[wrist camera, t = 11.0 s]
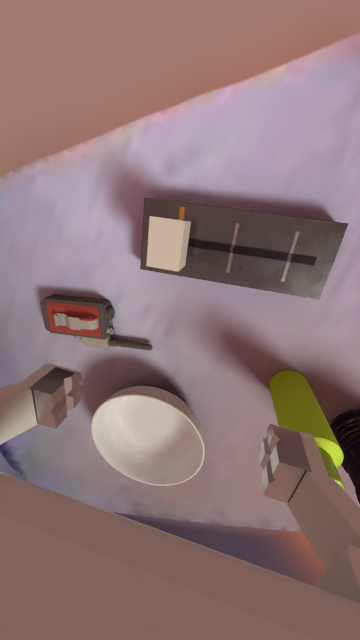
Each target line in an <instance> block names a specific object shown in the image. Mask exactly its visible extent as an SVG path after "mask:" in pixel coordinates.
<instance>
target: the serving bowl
mask: <svg viewBox="0 0 360 640" xmlns="http://www.w3.org/2000/svg"><path fill="white" fill-rule="evenodd" d="M91 433H92V437H93V441H94V443H95V445H96V447H97V449H98V451H99V452H100V454H101V455H102V456H103V458H104V459H105V460H106V461H107V462H108V463H109V464H110V465H111V466H112V467H114V468H115V469H116V470H118V471H119V472H121V473H122V474H124V475H126V476H128V477H130V478H132V479H134V480H137V481H139V482H143V483H146V484H152V485H161V486H166V485H175V484H179V483H182V482H185V481H187V480H189V479H190V478H192V477H193V476H194V475H195V474H196V473H197V472H198V471H199V469H200V468H201V466H202V464H203V461H204V456H205V444H204V436H203V432H202V428H201V425H200V423H199V421H198V419H197V417H196V415H195V414H194V412H193V411H192V410H191V409H190V407H189V406H188V405H187V404H186V403H185V402H184V401H182V400H181V399H180V398H178V397H177V396H175V395H174V394H172V393H170V392H168V391H166V390H163V389H160V388H156V387H151V386H134V387H129V388H125V389H122V390H120V391H118V392H116V393H114V394H113V395H111V396H110V397H108V398H107V399H106V400H105V401H104V402H103V403H102V404H101V405H100V406H99V407H98V408H97V410H96V411H95V413H94V415H93V418H92V422H91Z"/></svg>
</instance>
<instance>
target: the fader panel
mask: <svg viewBox="0 0 360 640" xmlns="http://www.w3.org/2000/svg"><path fill="white" fill-rule="evenodd" d="M150 216H153V217H161V218H168V219H176V220H183V221H190V222H191V226H190V233H189V241H188V248H187V256H186V263H185V266H184V267H183V268H182V269H181V270H180V271H179V272H178V271H172V270H166V269H160V268H154V267H148V266H146V263H147V248H148V233H149V218H150ZM347 226H348V224H347V223H339V222H332V221H324V220H316V219H308V218H300V217H292V216H284V215H277V214H269V213H261V212H253V211H245V210H237V209H229V208H222V207H214V206H206V205H198V204H190V203H182V202H174V201H167V200H159V199H151V198H144V215H143V232H142V250H141V267H140V269H143V270H149V271H155V272H161V273H167V274H173V275H178V276H184V277H190V278H196V279H202V280H208V281H214V282H220V283H225V284H231V285H237V286H243V287H249V288H255V289H261V290H266V291H272V292H278V293H284V294H290V295H296V296H302V297H307V298H313V299H320V296H321V294H322V291H323V288H324V286H325V283H326V281H327V278H328V275H329V273H330V270H331V268H332V265H333V262H334V260H335V257H336V255H337V252H338V249H339V247H340V244H341V241H342V239H343V236H344V234H345V231H346V228H347Z"/></svg>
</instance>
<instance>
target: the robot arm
mask: <svg viewBox="0 0 360 640" xmlns="http://www.w3.org/2000/svg"><path fill="white" fill-rule="evenodd" d="M81 380H82V377H81V373H80V372H78V371H75V370H72V369H68V368H65V367H62V366H57V365H54V364H51V363H48V364H45V365H44V366H42V367H41V368H39V369H38V370H37V371H35V372H34V373H33V374H31V375H30V376H29V377H27V378H26V379H24V380H23V381H22V382H20V383H19V384H18V385H15V384H13V385H9V386H6V387H3V388H0V444H2V443H4V442H6V441H8V440H9V439H11V438H13V437H15V436H17V435H19V434H21V433H23V432H24V431H26V430H28V429H30V428H32V427H34V426H36V425H37V423H38V424H41V425H45V426H48V427H52V428H55V429H56V428H57V427H58V426H59V425H60V424H61V423H62V421H63V420H64V419H65V418H66V417H67V411H69V410H71V409H74V408H75V407H76V405H77V404H78V403H79V401H80V399H81V396H82V386H81V385H80V383H79V382H80V381H81ZM260 465H261V466H262V468H263V469H264V471H263V473H262V476H261V478H262V488H263V495H265V496H268V497H271V498H273V499H276V500H279V501H282V502H285V503H288V507H289V508H290V510H291V512H292V514H293V515H294V517H295V519H296V521H297V522H298V524H299V526H300V528H301V529H302V531H303V533H304V535H305V536H306V538H307V540H308V542H309V543H310V545H311V547H312V548H313V550H314V552H315V554H316V555H317V557H318V559H319V561H320V562H321V564H322V566H323V568H324V570H325V571H326V572H325V573H324V574H323V575H322V576H321V578H320V579H319V580H318V581H317V582H316V584H314V586H311V585H308V584H306V583H303V582H300V581H297V580H294V579H292V578H289V577H286V576H284V575H281V574H278V573H276V572H273V571H270V570H267V569H265V568H262V567H259V566H256V565H254V564H251V563H248V562H245V561H243V560H240V559H237V558H235V557H232V556H229V555H226V554H224V553H221V552H218V551H215V550H213V549H210V548H207V547H204V546H202V545H199V544H196V543H194V542H191V541H188V540H185V539H183V538H180V537H177V536H175V535H172V534H169V533H166V532H164V531H161V530H158V529H156V528H153V527H150V526H147V525H145V524H142V523H139V522H136V521H134V520H131V519H128V518H126V517H123V516H120V515H117V514H115V513H112V512H109V511H106V510H104V509H101V508H98V507H95V506H93V505H90V504H87V503H84V502H82V501H79V500H76V499H74V498H71V497H68V496H65V495H63V494H60V493H57V492H54V491H52V490H49V489H46V488H43V487H41V486H38V485H35V484H33V483H30V482H27V481H24V480H22V479H19V478H16V477H13V476H11V475H7V474H5V473H2V472H0V640H360V508H359V507H358V506H357V504H356V503H355V502H354V501H353V500H352V499H351V498H350V497H349V496H348V495H347V493H346V492H345V491H344V490H343V489H342V488H341V487H340V486H339V485H338V484H337V482H336V481H335V480H334V479H332V478H329V477H328V474H327V471H326V469H325V466H324V463H323V460H322V458H321V455H320V452H319V449H318V447H317V444H316V441H315V439H314V437H313V436H312V435H311V434H307V433H303V432H299V431H295V430H291V429H288V428H284V427H280V426H276V425H273V424H270V425H269V426H268V429H267V437H266V438H264V439H263V441H262V444H261V448H260Z"/></svg>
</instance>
